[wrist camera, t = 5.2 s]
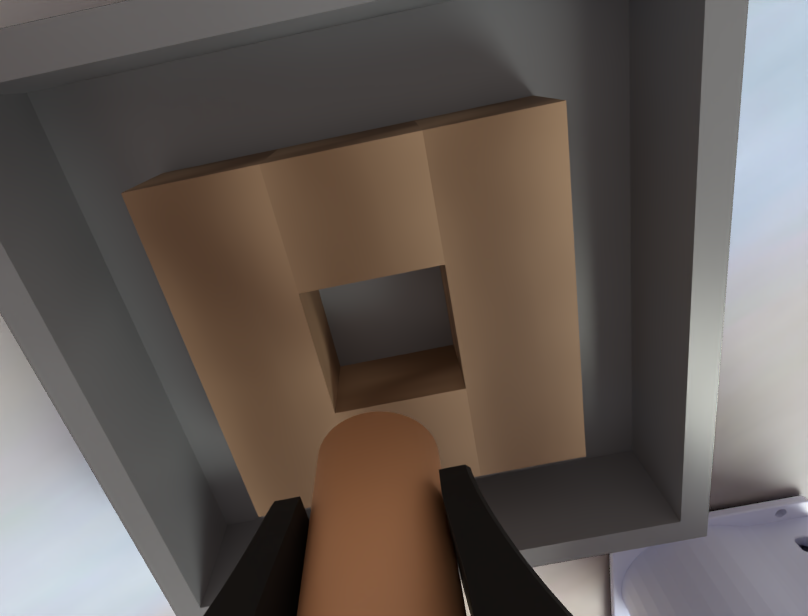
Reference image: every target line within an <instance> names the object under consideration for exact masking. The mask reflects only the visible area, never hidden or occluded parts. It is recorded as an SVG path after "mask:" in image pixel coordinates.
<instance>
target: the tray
mask: <svg viewBox="0 0 808 616" xmlns="http://www.w3.org/2000/svg"><path fill="white" fill-rule="evenodd" d="M748 1H749V0H127V1H123V2H118V3H114V4H109V5H105V6H100V7H96V8H91V9H87V10H82V11H77V12H73V13H68V14H64V15H59V16H55V17H50V18H46V19H41V20H37V21H32V22H28V23H23V24H19V25H14V26H10V27H5V28H1V29H0V313H1V315H2V317H3V319H4V320H5V322H6V324H7V325H8V327H9V329H10V331H11V332H12V334H13V336H14V337H15V339H16V341H17V343H18V344H19V346H20V348H21V349H22V351H23V353H24V355H25V356H26V358H27V360H28V362H29V363H30V365H31V367H32V368H33V370H34V372H35V374H36V375H37V377H38V379H39V380H40V382H41V384H42V386H43V387H44V389H45V391H46V392H47V394H48V396H49V398H50V399H51V401H52V403H53V405H54V406H55V408H56V410H57V411H58V413H59V415H60V417H61V418H62V420H63V422H64V423H65V425H66V427H67V429H68V430H69V432H70V434H71V435H72V437H73V439H74V441H75V442H76V444H77V446H78V448H79V449H80V451H81V453H82V454H83V456H84V458H85V460H86V461H87V463H88V465H89V466H90V468H91V470H92V472H93V473H94V475H95V477H96V478H97V480H98V482H99V484H100V485H101V487H102V489H103V490H104V492H105V494H106V496H107V497H108V499H109V501H110V503H111V504H112V506H113V508H114V509H115V511H116V513H117V515H118V516H119V518H120V520H121V521H122V523H123V525H124V527H125V528H126V530H127V532H128V533H129V535H130V537H131V539H132V540H133V542H134V544H135V546H136V547H137V549H138V551H139V552H140V554H141V556H142V558H143V559H144V561H145V563H146V564H147V566H148V568H149V570H150V571H151V573H152V575H153V576H154V578H155V580H156V582H157V583H158V585H159V587H160V588H161V590H162V592H163V594H164V595H165V597H166V599H167V601H168V602H169V604H170V606H171V607H172V609H173V611H174V613H175V614H176V616H203V615H204V614H205V612H206V611H207V609H208V608H209V606H210V605H211V603H212V602H213V601H214V599H215V598H216V596H217V595H218V593H219V592H220V590H221V588H222V587H223V585H224V584H225V582H226V580H227V579H228V577H229V576H230V574H231V572H232V571H233V569H234V568H235V566H236V564H237V563H238V561H239V560H240V558H241V556H242V555H243V553H244V551H245V550H246V548H247V546H248V545H249V543H250V541H251V539H252V538H253V536H254V534H255V533H256V531H257V529H258V527H259V526H260V524H261V522H262V521H263V519H264V517H265V516H261V517H258V514H257V512H256V510H255V507H254V505H253V503H252V500H251V498H250V496H249V493H248V491H247V489H246V486H245V484H244V482H243V479H242V477H241V474H240V472H239V470H238V467H237V465H236V463H235V460H234V458H233V456H232V453H231V451H230V449H229V446H228V444H227V442H226V439H225V437H224V435H223V432H222V430H221V427H220V425H219V423H218V420H217V418H216V416H215V413H214V411H213V409H212V406H211V404H210V402H209V399H208V397H207V395H206V392H205V390H204V387H203V385H202V383H201V380H200V378H199V376H198V373H197V371H196V369H195V366H194V364H193V362H192V359H191V357H190V355H189V352H188V350H187V348H186V345H185V343H184V340H183V338H182V336H181V333H180V331H179V329H178V326H177V324H176V322H175V319H174V317H173V315H172V312H171V310H170V308H169V305H168V303H167V301H166V298H165V296H164V293H163V291H162V289H161V286H160V284H159V282H158V279H157V277H156V275H155V272H154V270H153V268H152V265H151V263H150V261H149V258H148V256H147V253H146V251H145V249H144V246H143V244H142V242H141V239H140V237H139V235H138V232H137V230H136V228H135V225H134V223H133V221H132V218H131V216H130V214H129V211H128V209H127V206H126V204H125V202H124V199H123V197H122V195H121V193H122V192H124V191H126V190H129V189H131V188H133V187H135V186H137V185H139V184H141V183H143V182H145V181H147V180H149V179H151V178H153V177H156V176H158V175H160V174H162V173H165V172H170V171H175V170H180V169H185V168H189V167H194V166H199V165H204V164H208V163H213V162H218V161H223V160H228V159H232V158H237V157H242V156H247V155H252V154H256V153H261V152H266V151H271V150H275V149H280V148H285V147H290V146H295V145H299V144H304V143H309V142H314V141H319V140H323V139H328V138H333V137H338V136H342V135H347V134H352V133H357V132H362V131H366V130H371V129H376V128H381V127H385V126H390V125H395V124H400V123H405V122H409V121H414V120H419V119H424V118H429V117H433V116H438V115H443V114H448V113H452V112H457V111H462V110H467V109H472V108H476V107H481V106H486V105H491V104H495V103H500V102H505V101H510V100H515V99H519V98H524V97H529V96H541V97H547V98H554V99H560V100H566V105H567V123H568V141H569V159H570V177H571V195H572V214H573V232H574V250H575V268H576V286H577V304H578V322H579V340H580V358H581V376H582V394H583V412H584V430H585V449H586V456H585V457H580V458H575V459H569V460H564V461H558V462H553V463H548V464H542V465H537V466H531V467H526V468H521V469H515V470H510V471H504V472H499V473H493V474H488V475H483V476H477V477H474V478H475V480H476V483H477V485H478V487H479V489H480V491H481V493H482V494H483V496H484V498H485V500H486V501H487V503H488V505H489V507H490V508H491V510H492V512H493V513H494V515H495V516H496V518H497V520H498V521H499V523H500V524H501V526H502V527H503V529H504V530H505V531H506V533H507V534H508V536H509V537H510V539H511V540H512V542H513V543H514V545H515V546H516V547H517V549H518V550H519V551H520V553H521V554H522V555H523V557H524V558H525V559H526V561H527V562H528V563H529V565H530V566H531V567H537V566H542V565H548V564H554V563H559V562H565V561H570V560H576V559H582V558H587V557H593V556H598V555H604V554H610V553H615V552H621V551H627V550H632V549H638V548H643V547H649V546H655V545H660V544H666V543H671V542H677V541H683V540H688V539H694V538H699V537H705V536H707V528H708V515H709V502H710V489H711V476H712V464H713V451H714V438H715V425H716V412H717V399H718V387H719V374H720V361H721V348H722V335H723V322H724V309H725V297H726V284H727V271H728V258H729V245H730V232H731V220H732V207H733V194H734V181H735V168H736V155H737V142H738V130H739V117H740V104H741V91H742V78H743V65H744V53H745V40H746V27H747V14H748ZM319 293H320V297H321V300H322V304H323V307H324V311H325V314H326V318H327V321H328V325H329V328H330V332H331V335H332V339H333V342H334V346H335V349H336V353H337V356H338V360H339V363H340V366H346V365H351V364H356V363H361V362H366V361H371V360H377V359H382V358H387V357H392V356H397V355H402V354H408V353H413V352H418V351H423V350H428V349H433V348H438V347H444V346H449V345H453V339H452V334H451V328H450V322H449V316H448V311H447V305H446V299H445V293H444V288H443V282H442V276H441V270H440V266H435V267H430V268H425V269H420V270H415V271H410V272H405V273H400V274H395V275H390V276H385V277H380V278H375V279H370V280H365V281H360V282H355V283H350V284H345V285H340V286H335V287H330V288H325V289H320V290H319ZM305 510H306V513H307V516H308V518H309V520H310V512H311V507H310V508H305ZM458 569H459V567H458ZM459 575H460V572H459ZM460 580H461V576H460Z"/></svg>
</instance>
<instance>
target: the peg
mask: <svg viewBox="0 0 808 616" xmlns="http://www.w3.org/2000/svg"><path fill="white" fill-rule="evenodd" d="M439 469H441V463H440V458H439V452H438V447H437V444H436V442H435V440H434V438H433V436H432V435H431V433H430V432H429V431H428V430H427V429H426V428H425V427H424V426H423V425H422V424H420V423H419V422H417V421H416V420H414V419H412V418H410V417H407V416H404V415H402V414H397V413H393V412H380V411H377V412H368V413H362V414H359V415H356V416H353V417H350V418H348V419H346V420H344V421H343V422H341V423H339V424H338V425H337V426H335V427H334V428H333V429H332V430H331V431H330V432H329V433H328V434H327V436H326V437H325V438H324V440H323V442H322V444H321V446H320V449H319V454H318V460H317V468H316V475H315V483H314V490H313V498H312V505H311V512H310V520H309V527H308V535H307V542H306V550H305V557H304V565H303V572H302V579H301V587H300V594H299V602H298V609H297V616H466V610H465V604H464V598H463V592H462V586H461V581H460V575H459V569H458V563H457V557H456V552H455V548H454V544H453V540H452V536H451V532H450V528H449V523H448V519H447V514H446V510H445V505H444V501H443V496H442V491H441V484H440V476H439Z"/></svg>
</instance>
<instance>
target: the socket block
mask: <svg viewBox="0 0 808 616" xmlns="http://www.w3.org/2000/svg"><path fill="white" fill-rule="evenodd" d="M121 195H122V197H123V199H124V202H125V204H126V206H127V209H128V211H129V214H130V216H131V218H132V221H133V223H134V225H135V228H136V230H137V232H138V235H139V237H140V239H141V242H142V244H143V246H144V249H145V251H146V253H147V256H148V258H149V261H150V263H151V265H152V268H153V270H154V272H155V275H156V277H157V279H158V282H159V284H160V286H161V289H162V291H163V293H164V296H165V298H166V301H167V303H168V305H169V308H170V310H171V312H172V315H173V317H174V319H175V322H176V324H177V326H178V329H179V331H180V333H181V336H182V338H183V340H184V343H185V345H186V348H187V350H188V352H189V355H190V357H191V359H192V362H193V364H194V366H195V369H196V371H197V373H198V376H199V378H200V380H201V383H202V385H203V387H204V390H205V392H206V395H207V397H208V399H209V402H210V404H211V406H212V409H213V411H214V413H215V416H216V418H217V420H218V423H219V425H220V427H221V430H222V432H223V435H224V437H225V439H226V442H227V444H228V446H229V449H230V451H231V453H232V456H233V458H234V460H235V463H236V465H237V467H238V470H239V472H240V474H241V477H242V479H243V482H244V484H245V486H246V489H247V491H248V493H249V496H250V498H251V500H252V503H253V505H254V507H255V510H256V512H257V514H258V517H261V516H265V515H266V514H267V512H268V510H269V509H270V507H271V505H272V504H273V503H274V501H278V500H283V499H289V498H294V497H299V496H300V497H301V500H302V502H303V505H304V508H310V507H311V505H312V498H313V490H314V483H315V475H316V468H317V460H318V454H319V449H320V446H321V444H322V442H323V440H324V438H325V437H326V436H327V434H328V433H329V432H330V431H331V430H332V429H333V428H334V427H335V426H337V425H338V424H339V423H341V422H343V421H344V420H346V419H348V418H350V417H353V416H356V415H359V414H362V413H368V412H377V411H380V412H393V413H397V414H402V415H404V416H407V417H410V418H412V419H414V420H416V421H417V422H419V423H420V424H422V425H423V426H424V427H425V428H426V429H427V430H428V431H429V432H430V433H431V435H432V436H433V438H434V440H435V442H436V444H437V447H438V452H439V458H440V463H441V469H444V468H449V467H454V466H459V465H467V466H469V467H471V470H472V473H473V476H474V477H477V476H483V475H488V474H493V473H499V472H504V471H510V470H515V469H521V468H526V467H531V466H537V465H542V464H548V463H553V462H558V461H564V460H569V459H575V458H580V457H585V456H586V449H585V430H584V412H583V394H582V376H581V358H580V340H579V322H578V304H577V286H576V268H575V250H574V232H573V214H572V195H571V177H570V159H569V141H568V123H567V105H566V100H560V99H554V98H547V97H541V96H529V97H524V98H519V99H515V100H510V101H505V102H500V103H495V104H491V105H486V106H481V107H476V108H472V109H467V110H462V111H457V112H452V113H448V114H443V115H438V116H433V117H429V118H424V119H419V120H414V121H409V122H405V123H400V124H395V125H390V126H385V127H381V128H376V129H371V130H366V131H362V132H357V133H352V134H347V135H342V136H338V137H333V138H328V139H323V140H319V141H314V142H309V143H304V144H299V145H295V146H290V147H285V148H280V149H275V150H271V151H266V152H261V153H256V154H252V155H247V156H242V157H237V158H232V159H228V160H223V161H218V162H213V163H208V164H204V165H199V166H194V167H189V168H185V169H180V170H175V171H170V172H165V173H162V174H160V175H158V176H156V177H153V178H151V179H149V180H147V181H145V182H143V183H141V184H139V185H137V186H135V187H133V188H131V189H129V190H126V191H124V192H122V193H121ZM435 266H440V270H441V276H442V282H443V288H444V293H445V299H446V305H447V311H448V316H449V322H450V328H451V334H452V339H453V345H449V346H444V347H438V348H433V349H428V350H423V351H418V352H413V353H408V354H402V355H397V356H392V357H387V358H382V359H377V360H371V361H366V362H361V363H356V364H351V365H346V366H340V363H339V360H338V356H337V353H336V349H335V346H334V342H333V339H332V335H331V332H330V328H329V325H328V321H327V318H326V314H325V311H324V307H323V304H322V300H321V297H320V293H319V290H320V289H325V288H330V287H335V286H340V285H345V284H350V283H355V282H360V281H365V280H370V279H375V278H380V277H385V276H390V275H395V274H400V273H405V272H410V271H415V270H420V269H425V268H430V267H435Z"/></svg>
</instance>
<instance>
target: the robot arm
mask: <svg viewBox="0 0 808 616" xmlns="http://www.w3.org/2000/svg"><path fill="white" fill-rule="evenodd" d="M439 476H440V484H441V491H442V496H443V501H444V505H445V510H446V514H447V519H448V523H449V528H450V532H451V536H452V540H453V544H454V548H455V552H456V557H457V563H458V567H459V572H460V576H461V580H462V584H463V588H464V592H465V595H466V599H467V603H468V607H469V610H470V614H471V616H573V615H572V614H571V613H570V612H569V611H568V610H567V609H566V608H565V606H564V605H563V604H562V603H561V602H560V601H559V600H558V598H557V597H556V596H555V595H554V594H553V593H552V592H551V590H550V589H549V588H548V587H547V586H546V585H545V583H544V582H543V581H542V580H541V578H540V577H539V576H538V575H537V573H536V572H535V571H534V570H533V568H532V567H531V566H530V565H529V563H528V562H527V561H526V559H525V558H524V557H523V555H522V554H521V553H520V551H519V550H518V549H517V547H516V546H515V545H514V543H513V542H512V540H511V539H510V537H509V536H508V534H507V533H506V531H505V530H504V529H503V527H502V526H501V524H500V523H499V521H498V520H497V518H496V516H495V515H494V513H493V512H492V510H491V508H490V507H489V505H488V503H487V501H486V500H485V498H484V496H483V494H482V493H481V491H480V489H479V487H478V485H477V483H476V480H475V478H474V476H473V473H472V470H471V467H469V466H467V465H459V466H454V467H449V468H444V469H439ZM308 527H309V518H308V516H307V513H306V510H305V508H304V505H303V502H302V500H301V497H300V496H299V497H294V498H289V499H283V500H278V501H274V503H273V504H272V505H271V507H270V509H269V510H268V512H267V514H266V515H265V517H264V519H263V521H262V522H261V524H260V526H259V527H258V529H257V531H256V533H255V534H254V536H253V538H252V539H251V541H250V543H249V545H248V546H247V548H246V550H245V551H244V553H243V555H242V556H241V558H240V560H239V561H238V563H237V564H236V566H235V568H234V569H233V571H232V572H231V574H230V576H229V577H228V579H227V580H226V582H225V584H224V585H223V587H222V588H221V590H220V592H219V593H218V595H217V596H216V598H215V599H214V601H213V602H212V603H211V605H210V606H209V608H208V609H207V611H206V612H205V614H204V615H203V616H297V609H298V602H299V594H300V587H301V579H302V572H303V565H304V557H305V550H306V542H307V535H308ZM609 555H610V584H611V613H612V616H808V499H807V498H806V497H804V496H794V497H789V498H783V499H778V500H772V501H767V502H761V503H756V504H750V505H744V506H739V507H733V508H728V509H722V510H717V511H711V512H709V515H708V528H707V536H705V537H699V538H694V539H688V540H683V541H677V542H671V543H666V544H660V545H655V546H649V547H643V548H638V549H632V550H627V551H621V552H615V553H610V554H609Z"/></svg>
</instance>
